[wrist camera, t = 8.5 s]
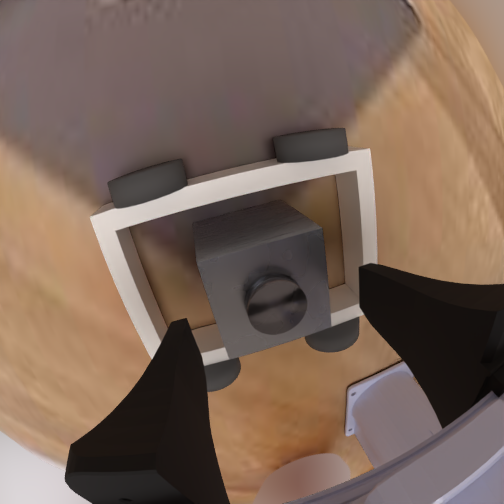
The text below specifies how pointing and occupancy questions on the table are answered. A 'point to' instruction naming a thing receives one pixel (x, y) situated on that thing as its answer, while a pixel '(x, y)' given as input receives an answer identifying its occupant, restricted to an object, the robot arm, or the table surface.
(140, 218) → the chassis
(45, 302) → the table surface
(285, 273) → the engine block
